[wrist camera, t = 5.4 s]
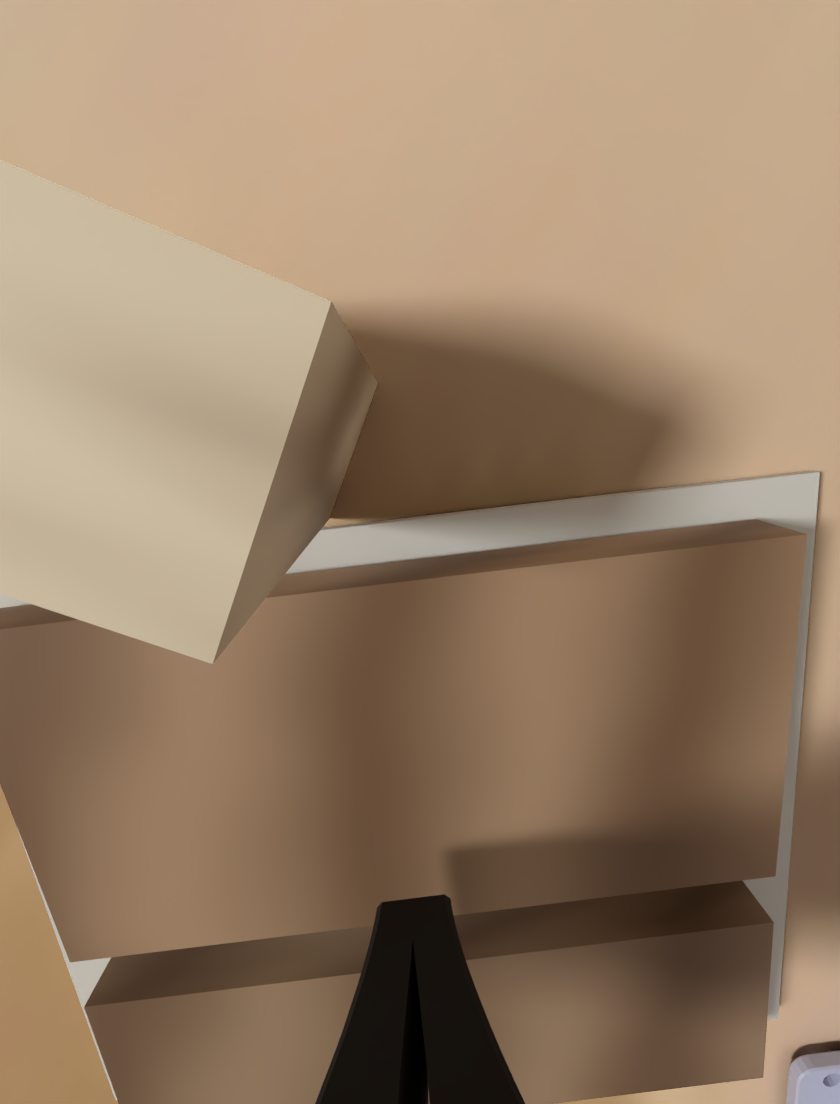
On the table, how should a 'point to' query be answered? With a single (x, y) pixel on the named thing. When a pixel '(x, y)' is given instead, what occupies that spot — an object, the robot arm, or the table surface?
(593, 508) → the underlay
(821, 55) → the table surface
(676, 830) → the board
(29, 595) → the block
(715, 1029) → the laid plank
